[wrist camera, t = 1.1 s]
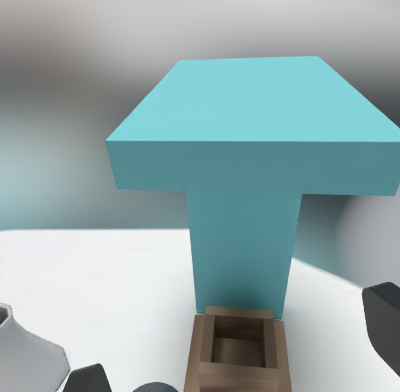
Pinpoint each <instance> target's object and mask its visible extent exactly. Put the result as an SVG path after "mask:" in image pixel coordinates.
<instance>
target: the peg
mask: <svg viewBox="0 0 400 392" xmlns="http://www.w3.org/2000/svg"><path fill="white" fill-rule="evenodd" d="M133 392H178V391H177V390H176V389H175V388H174V387H172V386H170V385H168V384H165V383H161V382H153V383H148V384H145V385H142V386H140V387H138V388H137V389H135V390H134V391H133Z"/></svg>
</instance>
